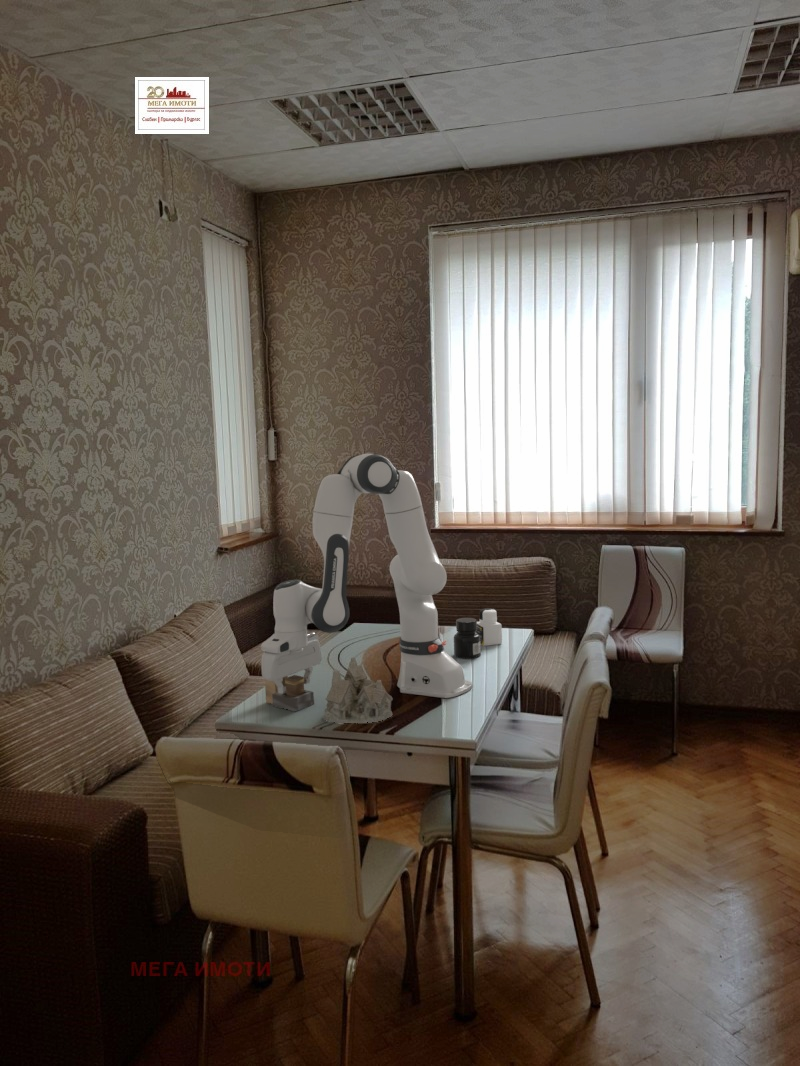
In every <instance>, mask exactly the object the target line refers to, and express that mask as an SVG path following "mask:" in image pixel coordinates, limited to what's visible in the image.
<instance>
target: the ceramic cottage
mask: <svg viewBox="0 0 800 1066" xmlns="http://www.w3.org/2000/svg"><path fill="white" fill-rule="evenodd" d="M356 659H357V658H356V657H350V662H349V664H348V665H349V668H347V671H346V673H345V676H344V678H343V679H342V677H341V672H340V670H339V669H334V670H333V671H332V678H331V687H330V689H329V691H328V693H327V696H326V698H325V700H326V701H327V703H326V705H325V706H326V708H325V709H324V713H323V717H324V718H323V720H324V719H325V720H327V721H330V722H335V723H334V724H337V723H356V724H357V723H358V724H373V723H372V722H377V723H379V722H378V721H381V722H383V721H386V720H388V719H387V718H389V717H391V716H392V715H393V712H392V708H391V707H392V701H393V699H394V698H393V697H392V695H390V694H389V693H388V692H387V690H386V688H385V687H384V685H383V682H382V680H381V679H377V680H376V682H374V681H375V680H372V679H368V675H367V674H366V671H365V670H364V668H363V666H362V664H359V665H358V663H357V660H356ZM392 717H393V716H392ZM392 717H391V718H392ZM389 719H390V718H389ZM325 720H324V721H325ZM382 720H383V721H382ZM327 721H326V722H327ZM330 722H329V723H330ZM367 722H368V723H367Z"/></svg>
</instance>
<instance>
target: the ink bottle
mask: <svg viewBox="0 0 800 1066" xmlns="http://www.w3.org/2000/svg"><path fill="white" fill-rule="evenodd" d="M477 622H478V619H476V618H473V617H461V618H456V621H455V624H456V625H455V628H456V633H455V634H454V635H453V654H454V656H455V657H456V658H459V659H472V658H473V659H474V658H478V657H480V656H481V651H482V650H481V648H482V645H481V644H480V635H479V634H478V633H477V632H476V631H477Z"/></svg>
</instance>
